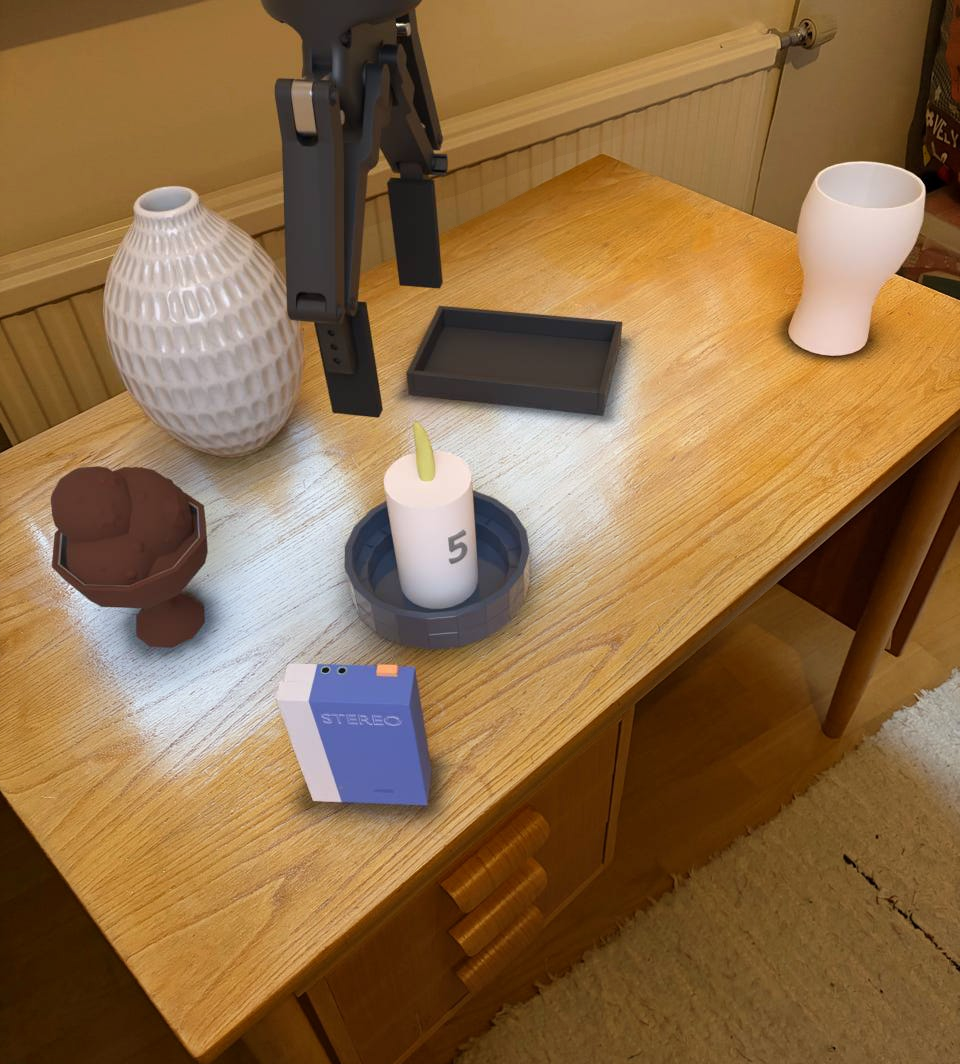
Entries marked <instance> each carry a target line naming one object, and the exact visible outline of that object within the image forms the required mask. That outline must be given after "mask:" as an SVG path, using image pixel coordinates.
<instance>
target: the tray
mask: <svg viewBox="0 0 960 1064" xmlns="http://www.w3.org/2000/svg"><path fill="white" fill-rule="evenodd" d="M622 332H623V321H619V320H617V321H616V320H608V319H595V318H586V317H585V318H584V317H574V316H573V317H572V316H561V315H552V314H551V315H549V314H539V313H528V312H527V313H526V312H516V311H505V310H494V309H481V308H471V307H459V306H448V305H438V307H437V309H436V311H435V313H434V315H433V317H432V319H431V321H430V323H429V325H428V327H427V330H426V332H425V334H424V335H423V338H422V340H421V341H420V344H419V346H418V348H417V350H416V353H415V354H414V356H413V358H412V361H411V362H410V365H409V366H408V369H407V371H406V381H407V389H408V395H409V396H419V397H426V398H427V397H428V398H437V399H447V400H455V401H466V402H473V403H484V404H493V405H502V406H512V407H521V408H528V409H529V408H530V409H540V410H547V411H548V410H550V411H559V412H567V413H577V414H587V415H595V416H596V415H597V416H604V415H605V411H606V410H605V409H606V405H607V402H608V397H609V393H610V390H611V389H610V388H611V385H612V381H613V377H614V373H615V368H616V364H617V360H618V356H619V353H620V352H619V351H620V348H621V343H622Z"/></svg>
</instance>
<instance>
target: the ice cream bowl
mask: <svg viewBox="0 0 960 1064" xmlns="http://www.w3.org/2000/svg"><path fill="white" fill-rule="evenodd" d="M50 507H51V516H52V520H53V523H54V526H55V528H57V530H56V531H55V533H54V534H53V535H54V537H53V545H52V546H53V548H52V557H51V558H52V559H51V568H52V569H53V570H54V571H55V573H57V574H58V575H59V576H60V577H61V578H62V580H64V581H65V582H66V583H68V584H69V585H70V586H71V587H73V588H74V589H75V590H76V591H78V593H80V594H81V595H82V596H84V597H85V598H86V599H87V600H88V601H90V602H91V603H93V604H95V605H97V606H99V607H101V608H118V609H119V608H121V609H140V611H138V613H137V614H136V615H135V616H136V617H135V634H136V635H135V636H136V637H137V638H138V639H139V640H140V641H142V642H143V643H144V644H145V645H146V646H147V647H148V648H162V649H163V648H169V649H172V648H174V647H176V646H178V645H181V644H183V643H185V642H187V641H190V640H192V639H193V638H194V637H195V636H196V635H197V633H198V632H199V631H200V630H201V628H202V626H203V625H204V624H205V623H206V620H205V618H206V617H205V606H204V605H203V604H202V603H201V602H199V601H198V600H197V599H195V598H194V597H193V596H191V595H190V594H189V593H186V592H185V593H184V592H183V590H185V588H186V587H187V586H188V585H189V584H190V583H191V581H192V580H193V579H194V577H196V575H197V574H198V572H199V571H200V570H201V569H202V568H203V566H204V565H205V564H206V561H207V556H208V552H209V551H208V550H209V549H208V548H209V547H208V536H207V534H208V533H207V521H206V512H205V505H204V504H203V503H201V502H200V501H198V500H197V499H196V498H194V497H192V496H191V495H190V494H188V493H187V492H186V491H183V489H182V488H181V487H179V486H178V485H177V484H175V483H174V481H173V480H172V479H170V478H168V477H166V476H164V475H162V474H161V473H160V472H158V471H156V470H155V469H152V468H147V467H138V466H123V467H120V468H118V469H115V470H113V469H111V468H109V467H104V466H100V465H99V466H98V465H96V466H95V465H94V466H85V467H77V468H74V469H73V470H71V471H69V472H68V473H66V474H65V475H64V476H62V477H61V478H59V480H58V482H57V484H56V485H55V487H54V489H53V490H52V493H51V496H50ZM182 592H183V593H182Z"/></svg>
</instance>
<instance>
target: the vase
mask: <svg viewBox="0 0 960 1064" xmlns="http://www.w3.org/2000/svg"><path fill="white" fill-rule="evenodd" d="M132 208H133V213H134V216H133V221H132V223H131V224H130V226H129V228H128V229H127V232H126V233H125V235H124V237H123V238H122V240H121V242H120V243H119V246H118V248H117V249H116V251H115V253H114V255H113V257H112V259H111V262H110V265H109V267H108V270H107V272H106V273H107V274H106V279H105V285H104V289H103V304H102V315H103V316H102V317H103V324H104V325H103V326H104V333H105V339H106V343H107V346H108V350H109V354H110V357H111V359H112V362H113V365H114V367H115V368H116V372H117V373H118V376H119V379H120V381H121V382H122V385H123V386H124V387H125V389H126V391H127V392H128V394H129V396H130V397H131V399H132V400H133V402H134V403H135V404H136V405H137V407H138V408H140V410H141V411H142V412H143V413H144V415H146V416H147V418H149V420H150V421H151V422H152V423H153V424H155V426H157V427H159V428H160V429H161V430H163V431H164V432H166V433H167V434H168V435H169V436H171V437H172V438H174V439H175V440H176V441H178V442H180V443H182V444H184V445H186V446H188V447H190V448H192V449H194V450H195V451H199V452H203V453H206V454H209V455H211V456H216V457H218V458H219V457H220V458H228V459H230V458H231V459H233V458H240V457H245V456H248V455H251V454H254V453H256V452H258V451H260V450H261V449H263V448H264V447H265V446H267V445H268V444H269V443H270V441H272V439H274V437H275V436H276V435H278V433H279V432H280V431H281V430H282V428H283V427H284V425H286V423H287V421H288V419H289V418H290V416H291V414H292V412H293V410H294V407H295V406H296V403H297V400H298V398H299V395H300V392H301V390H302V385H303V380H304V374H305V373H304V372H305V368H306V346H305V344H306V343H305V342H306V341H305V334H304V329H303V324H302V321H294V320H290V318H289V316H288V313H287V293H286V277H285V276H284V274H283V272H282V271H281V270H280V268H279V267H278V266H277V264H276V262H275V261H274V260H273V258H272V257H271V255H270V254H269V253H268V252H267V251H266V249H265V248H263V246H261V245H260V243H259V242H258V241H257V240H256V239H254V238H253V237H252V236H251V235H249V234H248V233H247V232H246V231H245V230H243V229H242V227H239V226H238V225H236V224H235V223H233V222H232V221H231V220H229V219H226V218H225V217H224V216H222V215H221V214H219V213H217V212H216V211H214V210H212V209H210V207H207V206H206V205H205V204H203V202H202V200H201V198H200V195H199V194H198V193H197V192H196V191H195V190H193V189H191V188H190V187H186V186H180V185H169V186H161V187H156V188H154V189H150V190H148V191H146V192H144V193H142V194H141V195H140V196H138V197H137V199H136V200H135V201H134V202H133V207H132Z"/></svg>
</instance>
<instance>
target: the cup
mask: <svg viewBox="0 0 960 1064" xmlns="http://www.w3.org/2000/svg"><path fill="white" fill-rule="evenodd" d="M926 193H927V191H926V186H925V184H924V183H923V181H922V179H921V178H920V177H918V176H917V175H916V174H914V173H913V172H911V171H909V170H906V169H904V168H903V167H899V166H896V165H892V164H890V163H889V164H888V163H883V162H877V161H846V162H842V163H836V164H833V165H831V166H828V167H825V168H824V169H823V170H821V171H819V172H818V173H817V175H816V176H815V177H814V180H813V182H812V183H811V186H810V187H809V190H808V192H807V194H806V196H805V198H804V201H803V202H802V204H801V209H800V213H799V217H798V222H797V227H796V242H797V256H798V260H799V263H800V266H801V270H802V274H803V279H802V280H803V283H802V290H801V297H800V300H799V301H798V303H797V306H796V308H795V311H794V313H793V314H792V317H791V320H790V323H789V325H788V329H787V330H788V332H787V333H788V336H789V338H790V340H792V342H793V343H794V345H797V346H798V347H800V348H801V349H803V350H805V351H808V352H810V353H814V354H817V355H818V354H819V355H822V356H832V357H833V356H836V357H837V356H845V355H850V354H853V353H855V352H858V351H860V350H861V349H862V348H864V347H865V346H866V343H867V342H868V338H869V332H870V327H871V318H872V309H873V306H874V304H875V303H876V302H875V301H876V300H877V298H878V295H879V294H880V291H881V289H882V288H883V287H884V285H885V284H886V283H887V282H888V281H890V279H891V278H892V277H894V275H895V274H896V273H897V272H898V271H899V270H900V269H901V267H902V265H903V264H904V262H905V261H906V259H907V258H908V257H909V255H910V253H911V252H912V250H913V249H914V248H915V247H914V246H915V245H916V243H917V240H918V237H919V235H920V231H921V228H922V225H923V223H924V214H925V206H926V205H925V204H926Z"/></svg>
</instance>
